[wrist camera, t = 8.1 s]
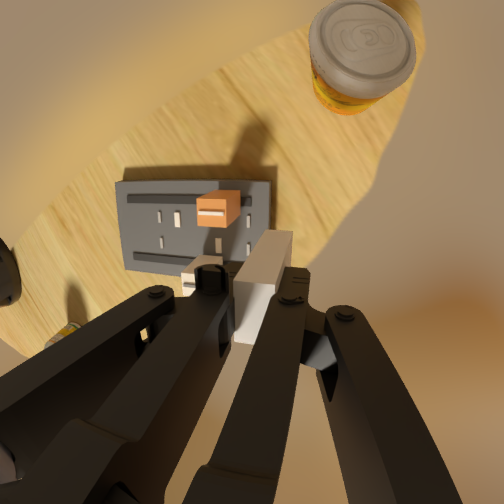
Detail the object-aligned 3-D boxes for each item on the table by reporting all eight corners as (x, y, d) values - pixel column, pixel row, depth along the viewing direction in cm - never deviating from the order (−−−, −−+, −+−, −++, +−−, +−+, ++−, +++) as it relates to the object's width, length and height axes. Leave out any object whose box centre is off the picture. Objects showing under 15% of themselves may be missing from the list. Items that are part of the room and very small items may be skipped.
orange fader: (215, 213, 30) (196, 226, 26) (214, 189, 29) (195, 198, 25) (240, 214, 30) (225, 228, 25) (240, 190, 29) (225, 199, 24)
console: (131, 265, 37) (123, 270, 36) (122, 180, 33) (113, 182, 32) (269, 280, 34) (266, 287, 32) (271, 180, 30) (269, 182, 28)
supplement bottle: (71, 315, 44) (36, 345, 35) (93, 336, 44) (59, 369, 36) (66, 332, 46) (34, 360, 38) (86, 351, 47) (56, 382, 38)
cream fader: (200, 275, 33) (182, 296, 28) (199, 254, 32) (180, 273, 28) (223, 277, 32) (207, 299, 28) (222, 256, 32) (206, 276, 27)
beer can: (304, 66, 25) (291, 2, 11) (362, 54, 23) (395, -14, 10) (324, 122, 27) (331, 100, 13) (381, 109, 25) (437, 81, 11)
